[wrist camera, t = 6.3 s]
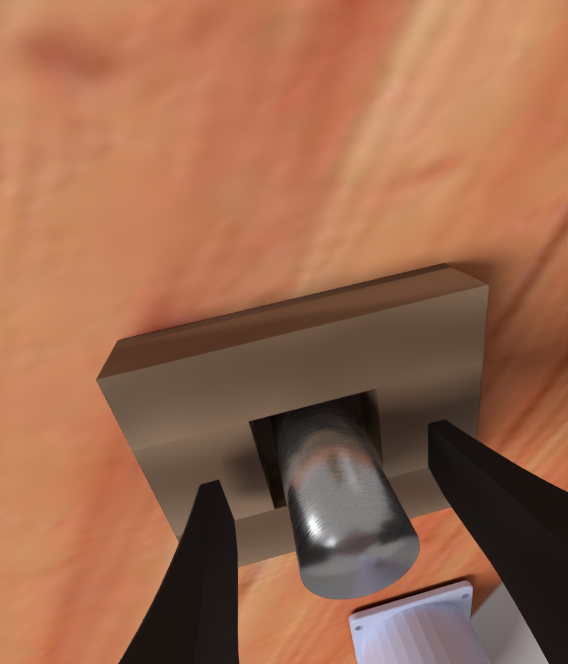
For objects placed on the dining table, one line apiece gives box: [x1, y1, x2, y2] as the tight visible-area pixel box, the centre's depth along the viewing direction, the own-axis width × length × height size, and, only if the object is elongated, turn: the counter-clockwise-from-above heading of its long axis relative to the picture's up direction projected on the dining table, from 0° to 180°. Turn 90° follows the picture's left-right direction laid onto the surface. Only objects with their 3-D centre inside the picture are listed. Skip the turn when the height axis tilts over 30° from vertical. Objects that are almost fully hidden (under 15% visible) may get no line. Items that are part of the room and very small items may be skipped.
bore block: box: [96, 264, 489, 567], centre depth 14 cm, size 10×12×2 cm
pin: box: [270, 397, 420, 599], centre depth 12 cm, size 3×3×6 cm
